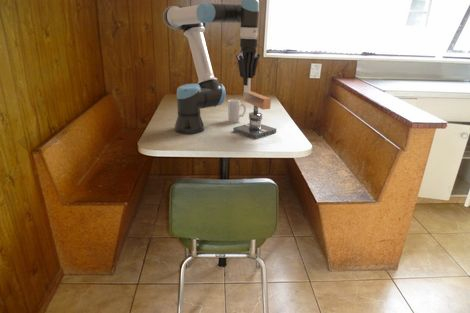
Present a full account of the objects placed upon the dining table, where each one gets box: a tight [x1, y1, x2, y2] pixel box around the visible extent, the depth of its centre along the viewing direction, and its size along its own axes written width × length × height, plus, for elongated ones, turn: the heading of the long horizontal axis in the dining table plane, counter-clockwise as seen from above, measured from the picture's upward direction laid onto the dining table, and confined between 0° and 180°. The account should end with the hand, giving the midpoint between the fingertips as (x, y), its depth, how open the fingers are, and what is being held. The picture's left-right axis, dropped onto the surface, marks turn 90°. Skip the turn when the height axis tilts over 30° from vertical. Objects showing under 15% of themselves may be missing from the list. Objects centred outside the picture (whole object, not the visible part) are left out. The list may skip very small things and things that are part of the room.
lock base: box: [232, 119, 277, 140], centre depth 178 cm, size 16×16×7 cm
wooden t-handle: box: [242, 90, 272, 121], centre depth 174 cm, size 7×20×12 cm, turn 28°
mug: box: [227, 98, 247, 124], centre depth 194 cm, size 10×7×12 cm, turn 87°
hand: (247, 92), depth 156 cm, fingers closed
